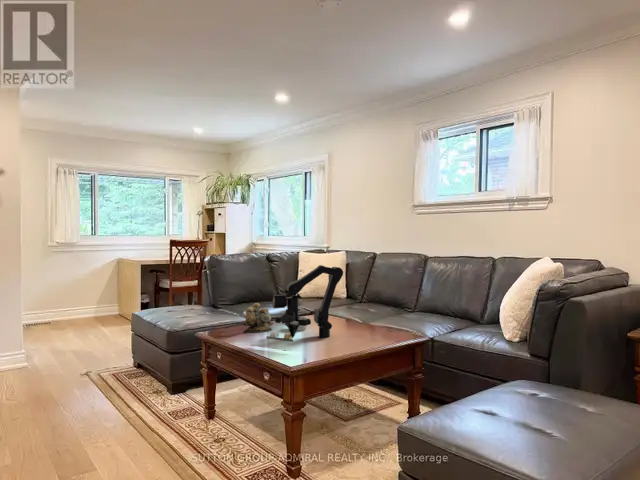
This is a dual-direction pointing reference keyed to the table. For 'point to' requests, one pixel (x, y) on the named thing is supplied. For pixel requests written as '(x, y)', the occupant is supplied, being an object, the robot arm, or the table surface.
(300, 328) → the grey rounded container
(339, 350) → the table surface
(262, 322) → the owl figurine
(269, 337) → the plate
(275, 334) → the block
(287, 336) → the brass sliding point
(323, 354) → the table surface
